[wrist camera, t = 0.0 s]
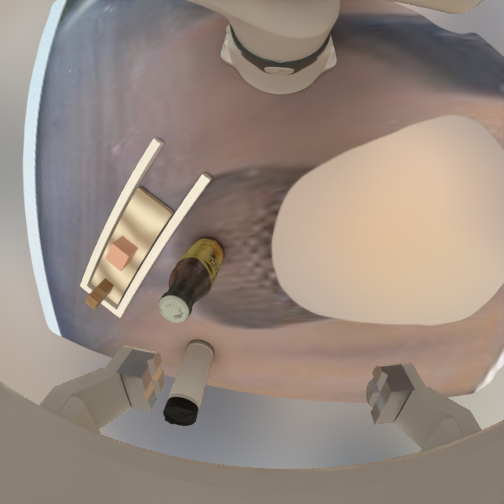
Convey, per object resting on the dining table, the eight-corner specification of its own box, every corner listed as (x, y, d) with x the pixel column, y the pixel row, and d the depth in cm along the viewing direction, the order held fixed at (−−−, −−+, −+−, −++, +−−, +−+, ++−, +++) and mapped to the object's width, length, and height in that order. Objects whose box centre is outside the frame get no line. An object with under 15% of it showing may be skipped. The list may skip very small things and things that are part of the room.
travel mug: (181, 346, 60) (154, 413, 42) (200, 335, 58) (176, 406, 40) (200, 363, 62) (179, 430, 44) (219, 352, 60) (202, 424, 42)
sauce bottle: (223, 269, 51) (198, 338, 33) (191, 264, 52) (152, 328, 33) (226, 236, 49) (199, 295, 31) (192, 231, 49) (149, 286, 31)
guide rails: (158, 138, 43) (153, 138, 41) (212, 178, 45) (210, 180, 43) (84, 281, 56) (80, 285, 54) (123, 313, 58) (120, 318, 56)
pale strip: (140, 186, 46) (118, 195, 38) (174, 211, 47) (156, 226, 40) (93, 280, 55) (73, 299, 47) (119, 301, 56) (102, 322, 49)
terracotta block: (122, 235, 49) (112, 243, 45) (138, 248, 49) (128, 256, 46) (115, 250, 50) (105, 258, 46) (130, 262, 51) (120, 271, 47)
